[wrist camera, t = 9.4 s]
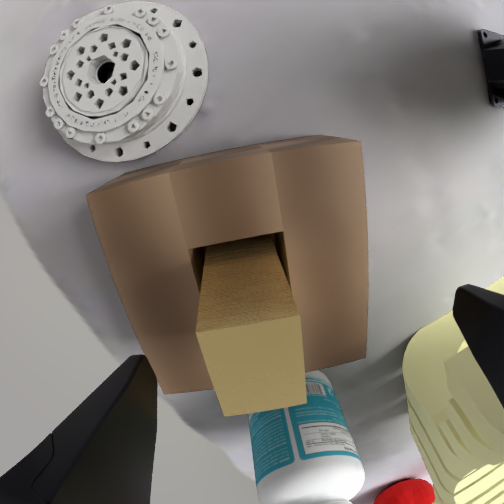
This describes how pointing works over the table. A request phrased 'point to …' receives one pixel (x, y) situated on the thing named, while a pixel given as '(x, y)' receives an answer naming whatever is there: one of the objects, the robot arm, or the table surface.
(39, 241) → the table surface
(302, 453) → the pill bottle
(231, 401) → the brushed gold block
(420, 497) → the tomato
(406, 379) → the slatted curved stool
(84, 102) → the mechanical component
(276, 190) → the slotted wooden block
